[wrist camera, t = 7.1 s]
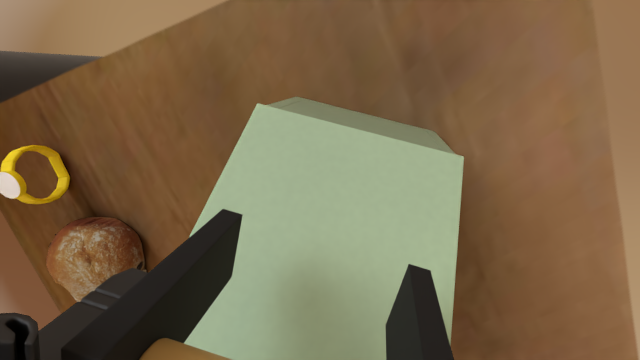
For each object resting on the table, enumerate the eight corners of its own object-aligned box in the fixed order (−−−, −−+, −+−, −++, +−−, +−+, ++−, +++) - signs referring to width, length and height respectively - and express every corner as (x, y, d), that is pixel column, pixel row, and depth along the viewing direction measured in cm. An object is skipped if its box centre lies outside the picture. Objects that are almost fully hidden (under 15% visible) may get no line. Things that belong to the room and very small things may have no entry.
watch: (40, 143, 37) (-20, 155, 31) (60, 139, 36) (3, 151, 31) (62, 194, 39) (8, 214, 33) (81, 190, 38) (30, 211, 32)
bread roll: (150, 276, 45) (137, 322, 38) (58, 274, 41) (25, 324, 34) (155, 210, 41) (142, 247, 34) (56, 202, 38) (18, 240, 31)
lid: (428, 534, 12) (622, 767, 5) (104, 418, 13) (-125, 469, 6) (458, 163, 20) (547, 48, 13) (258, 111, 21) (239, -22, 14)
